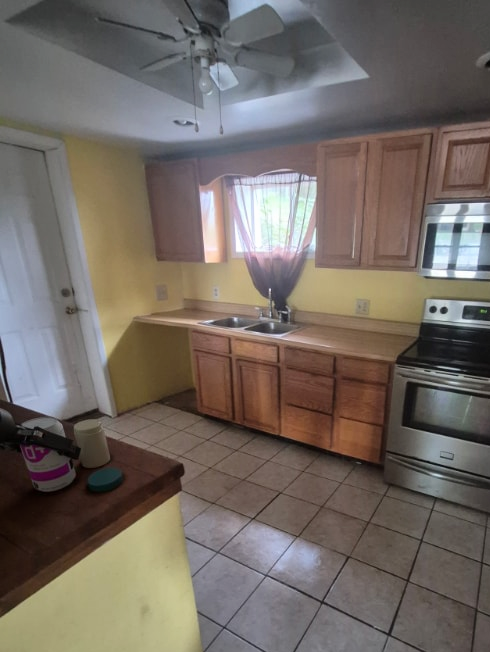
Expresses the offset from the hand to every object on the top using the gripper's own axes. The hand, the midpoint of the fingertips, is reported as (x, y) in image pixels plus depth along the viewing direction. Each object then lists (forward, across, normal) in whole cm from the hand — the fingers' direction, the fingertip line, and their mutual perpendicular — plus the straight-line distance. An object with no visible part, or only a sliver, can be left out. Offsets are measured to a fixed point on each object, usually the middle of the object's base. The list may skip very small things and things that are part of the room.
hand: (59, 453), depth 85 cm
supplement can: (+2, 0, -6) cm, 7 cm away
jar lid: (+2, +11, -5) cm, 12 cm away
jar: (+9, +4, 0) cm, 10 cm away
